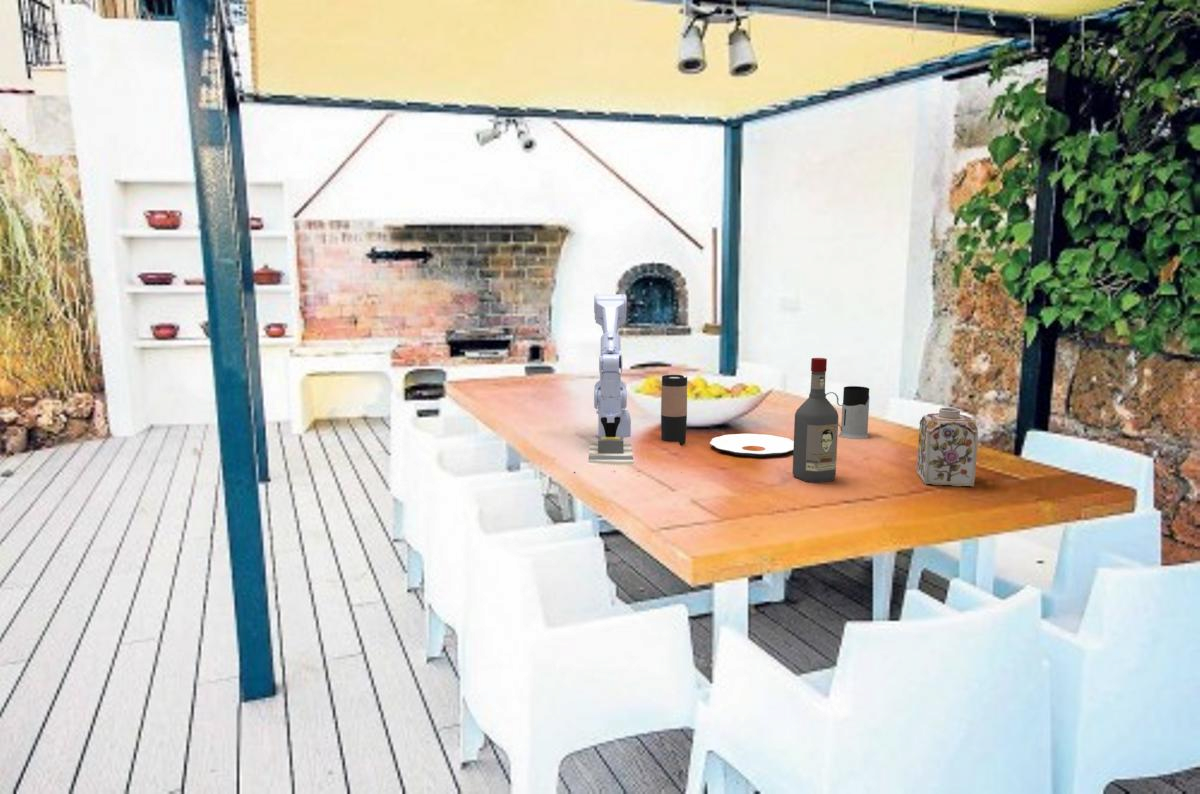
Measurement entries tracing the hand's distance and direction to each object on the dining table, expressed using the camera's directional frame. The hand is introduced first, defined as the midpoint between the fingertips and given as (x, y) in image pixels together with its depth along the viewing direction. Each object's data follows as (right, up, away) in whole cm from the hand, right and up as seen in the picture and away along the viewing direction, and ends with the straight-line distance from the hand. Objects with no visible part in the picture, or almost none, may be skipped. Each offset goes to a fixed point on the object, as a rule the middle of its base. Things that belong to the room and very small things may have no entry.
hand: (610, 442), depth 234 cm
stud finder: (0, -2, -6) cm, 6 cm away
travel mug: (+19, -1, +9) cm, 21 cm away
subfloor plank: (0, -4, -9) cm, 10 cm away
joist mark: (0, -5, -13) cm, 14 cm away
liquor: (+51, -7, -29) cm, 59 cm away
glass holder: (+73, +1, +19) cm, 75 cm away
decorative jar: (+82, -8, -31) cm, 88 cm away
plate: (+41, -2, +3) cm, 42 cm away
